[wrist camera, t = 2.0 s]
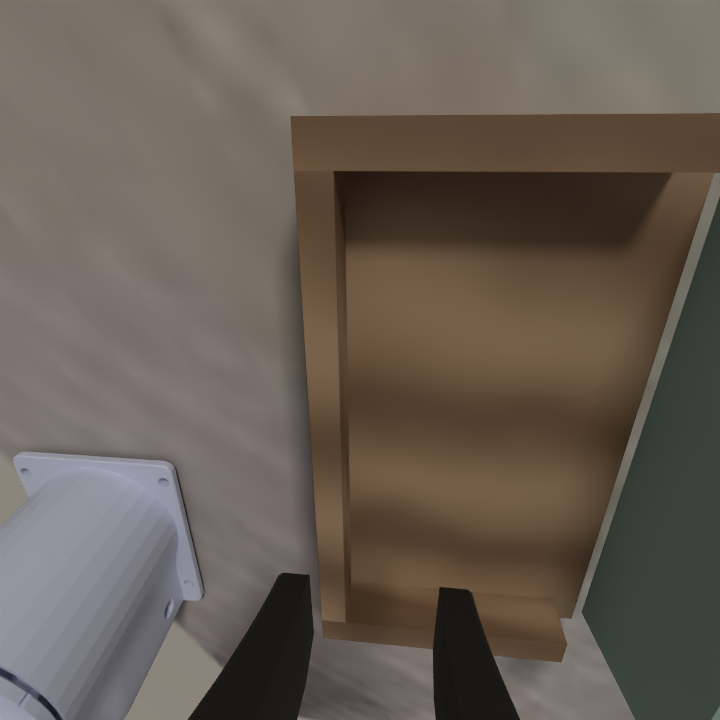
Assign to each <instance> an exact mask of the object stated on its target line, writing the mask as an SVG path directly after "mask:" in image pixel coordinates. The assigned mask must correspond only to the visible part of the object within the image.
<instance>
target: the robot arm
mask: <svg viewBox="0 0 720 720" xmlns="http://www.w3.org/2000/svg"><path fill="white" fill-rule="evenodd" d="M13 463H14V466H15V468H16V470H17V472H18V475H19V477H20V479H21V482H22V484H23V486H24V489H25V491H26V493H27V496H28V498H29V499H28V500H27V501H26V502H25V503H24V504H22V505H21V506H20V507H19V508H18V509H17V510H16V511H15V512H14V513H13V514H12V515H11V516H10V517H9V518H8V519H7V520H6V521H5V522H3V523H2V524H1V526H0V720H123V719H124V718H125V716H126V715H127V713H128V711H129V710H130V708H131V706H132V704H133V702H134V700H135V697H136V696H137V694H138V691H139V689H140V687H141V685H142V683H143V681H144V679H145V677H146V675H147V673H148V671H149V669H150V667H151V665H152V663H153V661H154V659H155V657H156V655H157V653H158V651H159V649H160V647H161V645H162V643H163V641H164V639H165V637H166V634H167V632H168V631H169V629H170V627H171V625H172V622H173V620H174V618H175V616H176V614H177V612H178V610H179V608H180V606H181V604H182V602H183V600H188V601H198V600H200V599H201V597H202V595H203V593H204V590H203V586H202V581H201V577H200V573H199V569H198V564H197V560H196V556H195V552H194V547H193V543H192V539H191V534H190V530H189V526H188V522H187V517H186V513H185V509H184V505H183V500H182V496H181V492H180V487H179V483H178V479H177V475H176V470H175V468H174V466H173V465H172V464H171V463H169V462H166V461H158V460H143V459H128V458H113V457H99V456H84V455H69V454H55V453H40V452H25V451H24V452H20V453H19V454H17V455H16V456H15V457H14V458H13ZM165 479H166V480H168V481H166V480H165ZM313 634H314V629H313V616H312V603H311V590H310V577H309V575H303V574H292V573H282V574H280V575H279V576H278V578H277V580H276V582H275V584H274V585H273V587H272V589H271V591H270V593H269V595H268V597H267V599H266V600H265V602H264V604H263V606H262V607H261V609H260V611H259V613H258V614H257V616H256V618H255V619H254V621H253V623H252V624H251V626H250V628H249V629H248V631H247V633H246V634H245V636H244V638H243V639H242V641H241V642H240V644H239V645H238V647H237V648H236V650H235V652H234V653H233V655H232V656H231V658H230V659H229V661H228V662H227V664H226V666H225V667H224V669H223V670H222V672H221V673H220V675H219V676H218V678H217V679H216V681H215V682H214V683H213V685H212V686H211V688H210V689H209V691H208V692H207V693H206V695H205V696H204V698H203V699H202V701H201V702H200V703H199V705H198V706H197V708H196V709H195V710H194V712H193V713H192V715H191V716H190V717H189V719H188V720H297V717H298V713H299V709H300V705H301V701H302V697H303V693H304V689H305V685H306V679H307V672H308V666H309V660H310V654H311V647H312V641H313ZM433 678H434V705H435V715H436V720H520V718H519V716H518V714H517V712H516V709H515V707H514V705H513V702H512V700H511V698H510V696H509V693H508V691H507V689H506V686H505V684H504V682H503V679H502V677H501V674H500V672H499V670H498V667H497V665H496V662H495V660H494V657H493V654H492V652H491V649H490V646H489V644H488V641H487V638H486V635H485V633H484V630H483V627H482V624H481V621H480V618H479V615H478V612H477V608H476V605H475V601H474V598H473V594H472V593H471V592H470V591H469V590H468V589H458V588H447V587H439V596H438V605H437V613H436V622H435V631H434V640H433Z"/></svg>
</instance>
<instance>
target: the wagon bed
mask: <svg viewBox="0 0 720 720" xmlns="http://www.w3.org/2000/svg"><path fill="white" fill-rule="evenodd" d="M291 131H292V147H293V163H294V179H295V195H296V211H297V227H298V243H299V259H300V275H301V291H302V307H303V323H304V339H305V355H306V371H307V387H308V403H309V419H310V435H311V451H312V467H313V483H314V499H315V515H316V531H317V547H318V563H319V579H320V595H321V611H322V627H323V638H330V639H340V640H350V641H359V642H369V643H379V644H388V645H398V646H408V647H418V648H427V649H433V640H434V631H435V622H436V613H437V605H438V596H439V587H447V588H458V589H468V590H469V591H470V592H471V593H472V594H473V598H474V601H475V605H476V608H477V612H478V615H479V618H480V621H481V624H482V627H483V630H484V633H485V635H486V638H487V641H488V644H489V646H490V649H491V652H492V654H493V655H495V656H505V657H515V658H524V659H534V660H544V661H553V662H562V659H563V655H564V652H565V649H566V646H567V643H566V639H565V636H564V633H563V629H562V626H561V623H560V619H559V618H569V619H571V618H572V615H573V612H574V609H575V606H576V602H577V599H578V596H579V593H580V590H581V587H582V584H583V581H584V577H585V574H586V571H587V568H588V565H589V562H590V559H591V556H592V552H593V549H594V546H595V543H596V540H597V537H598V534H599V531H600V527H601V524H602V521H603V518H604V515H605V512H606V509H607V506H608V503H609V499H610V496H611V493H612V490H613V487H614V484H615V481H616V478H617V474H618V471H619V468H620V465H621V462H622V459H623V456H624V453H625V449H626V446H627V443H628V440H629V437H630V434H631V431H632V428H633V424H634V421H635V418H636V415H637V412H638V409H639V406H640V403H641V399H642V396H643V393H644V390H645V387H646V384H647V381H648V378H649V374H650V371H651V368H652V365H653V362H654V359H655V356H656V353H657V350H658V346H659V343H660V340H661V337H662V334H663V331H664V328H665V325H666V321H667V318H668V315H669V312H670V309H671V306H672V303H673V300H674V296H675V293H676V290H677V287H678V284H679V281H680V278H681V275H682V271H683V268H684V265H685V262H686V259H687V256H688V253H689V250H690V246H691V243H692V240H693V237H694V234H695V231H696V228H697V225H698V222H699V218H700V215H701V212H702V209H703V206H704V203H705V200H706V197H707V193H708V190H709V187H710V184H711V181H712V178H713V175H714V173H720V113H704V114H560V115H415V116H291Z"/></svg>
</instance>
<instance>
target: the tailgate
mask: <svg viewBox="0 0 720 720" xmlns="http://www.w3.org/2000/svg"><path fill="white" fill-rule="evenodd" d="M582 614H583V616H584V618H585V620H586V622H587V624H588V626H589V628H590V630H591V632H592V634H593V636H594V638H595V640H596V642H597V644H598V646H599V648H600V650H601V652H602V654H603V656H604V658H605V660H606V662H607V664H608V666H609V668H610V670H611V672H612V674H613V676H614V678H615V680H616V682H617V684H618V686H619V688H620V690H621V692H622V694H623V696H624V698H625V700H626V702H627V704H628V706H629V708H630V710H631V712H632V713H633V715H634V717H635V719H636V720H720V198H719V201H718V204H717V207H716V210H715V213H714V216H713V219H712V222H711V225H710V228H709V231H708V234H707V237H706V240H705V243H704V246H703V249H702V252H701V255H700V258H699V261H698V264H697V267H696V270H695V273H694V276H693V279H692V282H691V285H690V288H689V291H688V294H687V297H686V300H685V303H684V306H683V309H682V312H681V315H680V318H679V321H678V324H677V327H676V330H675V333H674V336H673V339H672V342H671V345H670V348H669V351H668V354H667V357H666V360H665V363H664V366H663V369H662V372H661V375H660V378H659V381H658V384H657V387H656V390H655V393H654V396H653V399H652V402H651V405H650V408H649V412H648V415H647V418H646V421H645V424H644V427H643V430H642V433H641V436H640V439H639V442H638V445H637V448H636V451H635V454H634V457H633V460H632V463H631V466H630V469H629V472H628V475H627V478H626V481H625V484H624V487H623V490H622V493H621V496H620V499H619V502H618V505H617V508H616V511H615V514H614V517H613V520H612V523H611V526H610V529H609V532H608V535H607V538H606V541H605V544H604V547H603V550H602V553H601V556H600V559H599V562H598V565H597V568H596V571H595V574H594V577H593V580H592V583H591V586H590V589H589V592H588V595H587V598H586V601H585V604H584V607H583V610H582Z"/></svg>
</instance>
